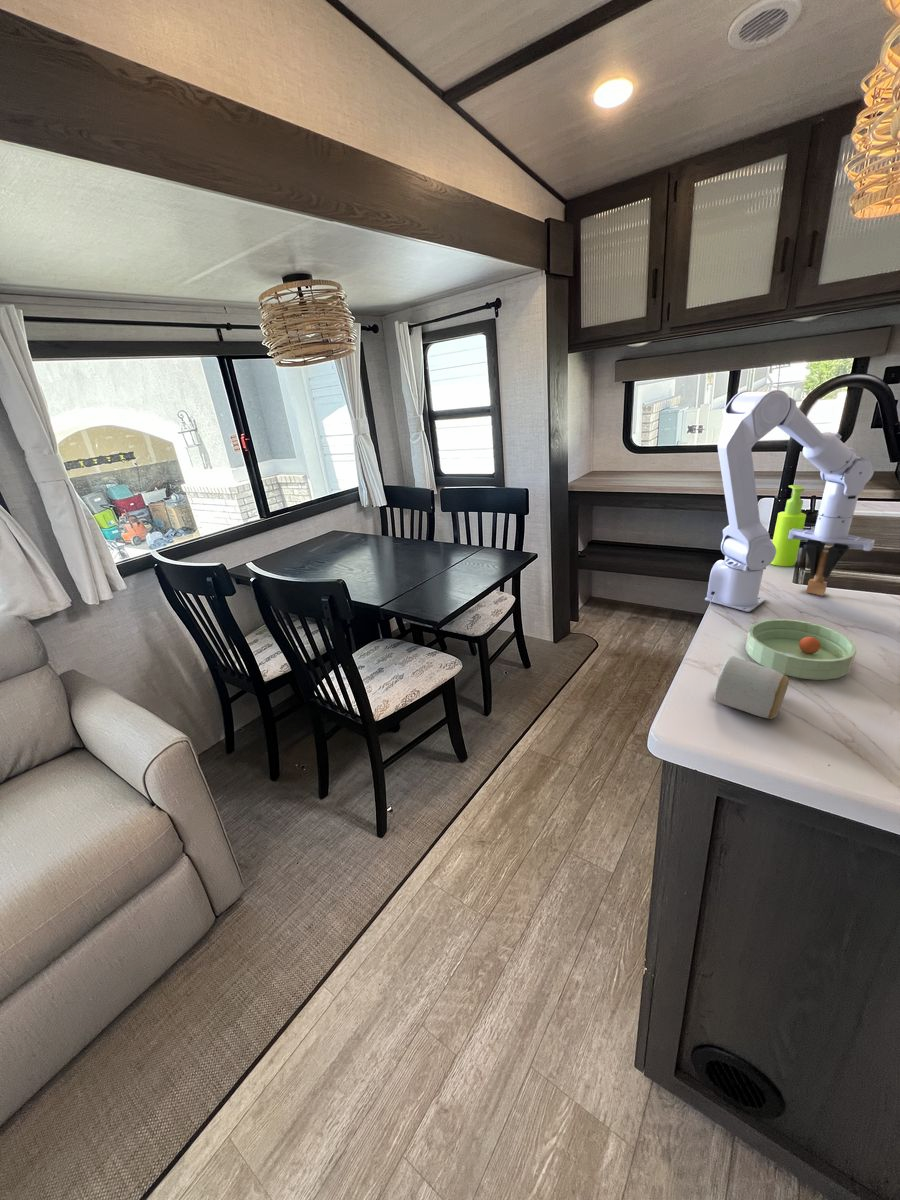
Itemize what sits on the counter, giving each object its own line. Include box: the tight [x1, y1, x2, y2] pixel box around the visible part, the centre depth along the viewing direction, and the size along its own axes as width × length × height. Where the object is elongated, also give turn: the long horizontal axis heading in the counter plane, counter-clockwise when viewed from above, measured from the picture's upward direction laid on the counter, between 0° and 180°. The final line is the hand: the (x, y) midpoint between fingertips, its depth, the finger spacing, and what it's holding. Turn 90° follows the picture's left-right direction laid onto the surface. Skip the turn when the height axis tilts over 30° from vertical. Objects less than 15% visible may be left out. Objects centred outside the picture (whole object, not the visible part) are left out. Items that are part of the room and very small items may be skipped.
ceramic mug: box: [713, 655, 790, 720], centre depth 71 cm, size 11×8×8 cm
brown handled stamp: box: [805, 549, 829, 597], centre depth 103 cm, size 3×2×10 cm, turn 37°
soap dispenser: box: [770, 484, 807, 567], centre depth 120 cm, size 6×7×20 cm
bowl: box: [745, 618, 857, 681], centre depth 82 cm, size 15×15×4 cm
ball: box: [799, 637, 820, 654], centre depth 83 cm, size 3×3×3 cm
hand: (820, 575), depth 103 cm, fingers closed on brown handled stamp, 2 cm apart
